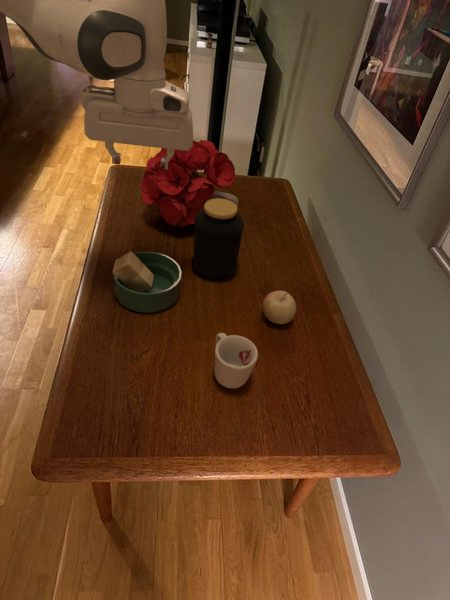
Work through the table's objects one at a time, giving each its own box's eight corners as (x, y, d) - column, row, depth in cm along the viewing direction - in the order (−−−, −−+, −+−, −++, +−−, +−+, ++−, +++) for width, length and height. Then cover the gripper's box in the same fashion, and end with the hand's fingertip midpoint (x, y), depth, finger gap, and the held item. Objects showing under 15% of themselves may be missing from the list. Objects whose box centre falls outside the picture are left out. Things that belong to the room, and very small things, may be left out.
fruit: (291, 309, 95) (300, 284, 90) (291, 332, 90) (301, 306, 85) (260, 304, 95) (267, 278, 90) (258, 326, 90) (265, 300, 85)
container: (179, 265, 102) (184, 202, 90) (212, 248, 109) (220, 188, 97) (214, 290, 97) (224, 227, 85) (245, 270, 104) (258, 209, 92)
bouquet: (197, 211, 135) (120, 180, 113) (238, 152, 125) (163, 105, 104) (226, 252, 123) (146, 225, 101) (274, 189, 113) (198, 145, 92)
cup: (197, 357, 81) (201, 330, 76) (232, 346, 85) (238, 320, 79) (221, 399, 75) (227, 373, 69) (258, 386, 78) (266, 360, 73)
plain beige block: (136, 295, 91) (112, 272, 86) (138, 282, 94) (115, 259, 90) (152, 287, 90) (128, 263, 85) (153, 274, 93) (131, 251, 88)
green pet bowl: (119, 318, 86) (117, 298, 82) (110, 274, 96) (108, 254, 92) (186, 309, 91) (188, 289, 87) (171, 268, 101) (172, 249, 97)
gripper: (75, 89, 68) (83, 166, 77) (196, 104, 70) (190, 178, 79) (83, 78, 72) (90, 153, 82) (196, 93, 75) (190, 164, 84)
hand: (140, 165), depth 81 cm, fingers open, 8 cm apart
